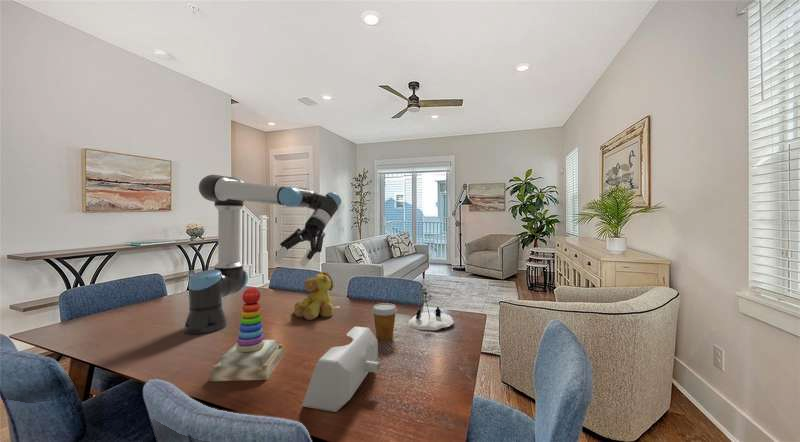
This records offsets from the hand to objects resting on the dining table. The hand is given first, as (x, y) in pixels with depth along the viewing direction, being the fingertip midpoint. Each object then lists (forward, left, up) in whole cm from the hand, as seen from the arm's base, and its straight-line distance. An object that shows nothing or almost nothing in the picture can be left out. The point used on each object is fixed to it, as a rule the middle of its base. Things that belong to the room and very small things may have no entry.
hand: (288, 263), depth 116 cm
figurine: (+56, +16, -30) cm, 65 cm away
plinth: (-6, -19, -29) cm, 36 cm away
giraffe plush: (+3, +33, -30) cm, 45 cm away
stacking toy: (-6, -19, -23) cm, 31 cm away
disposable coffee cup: (+36, +2, -29) cm, 46 cm away
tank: (+26, -32, -30) cm, 51 cm away
